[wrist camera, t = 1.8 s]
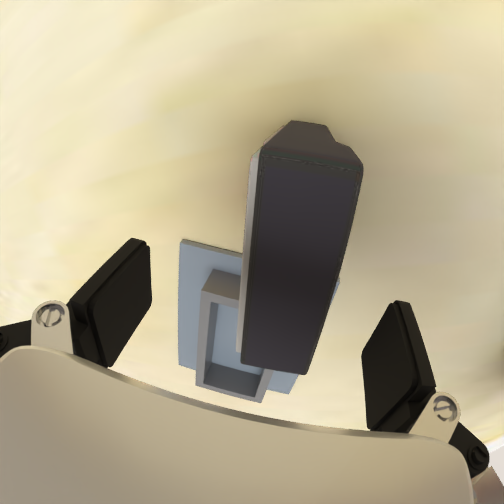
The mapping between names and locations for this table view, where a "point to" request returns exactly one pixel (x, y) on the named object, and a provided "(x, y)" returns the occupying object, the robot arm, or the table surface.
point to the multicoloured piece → (294, 243)
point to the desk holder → (218, 325)
